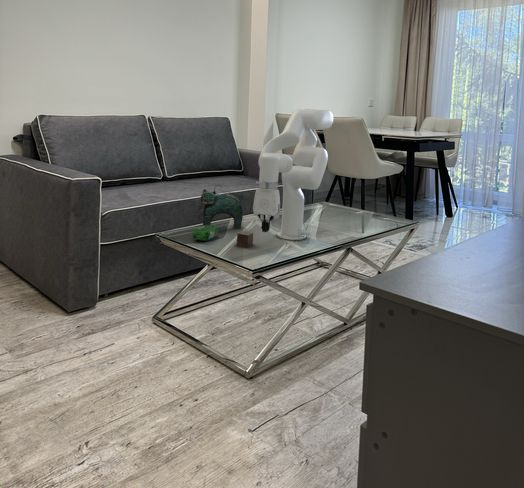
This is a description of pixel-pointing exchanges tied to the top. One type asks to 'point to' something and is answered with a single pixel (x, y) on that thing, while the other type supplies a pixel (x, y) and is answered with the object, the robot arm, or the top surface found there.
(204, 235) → the snack package
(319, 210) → the top surface
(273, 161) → the robot arm
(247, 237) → the walnut block
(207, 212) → the ceramic cat
